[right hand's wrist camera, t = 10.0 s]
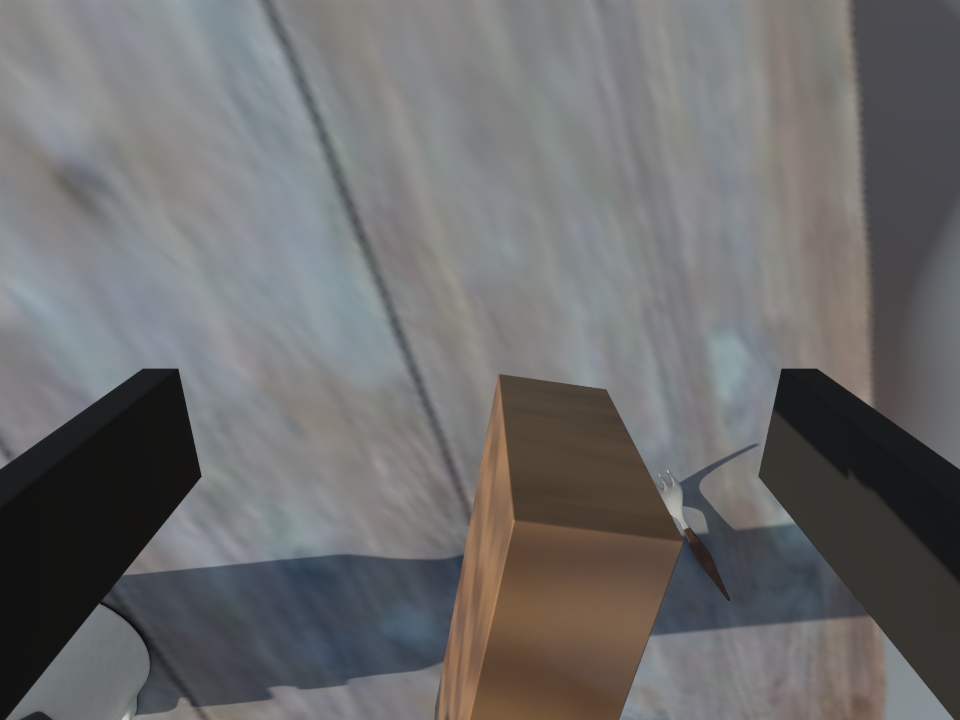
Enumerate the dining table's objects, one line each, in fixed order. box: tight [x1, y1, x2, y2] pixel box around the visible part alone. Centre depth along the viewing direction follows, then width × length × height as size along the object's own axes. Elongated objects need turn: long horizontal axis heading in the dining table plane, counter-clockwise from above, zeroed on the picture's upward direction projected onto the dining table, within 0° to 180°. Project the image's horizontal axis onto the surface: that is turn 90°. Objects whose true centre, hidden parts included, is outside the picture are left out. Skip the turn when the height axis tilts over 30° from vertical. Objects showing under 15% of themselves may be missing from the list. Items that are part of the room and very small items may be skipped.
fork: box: [654, 470, 730, 601], centre depth 46 cm, size 3×16×2 cm, turn 32°
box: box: [434, 374, 684, 720], centre depth 30 cm, size 26×6×12 cm, turn 171°
